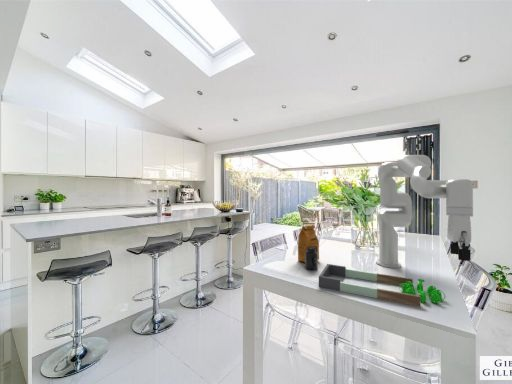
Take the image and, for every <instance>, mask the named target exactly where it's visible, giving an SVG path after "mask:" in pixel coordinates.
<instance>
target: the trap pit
mask: <svg viewBox="0 0 512 384" xmlns="http://www.w3.org/2000/svg"><path fill="white" fill-rule="evenodd" d="M345 269H347V267H346V266H343V265H337V264H330V263H327V264H326V265H325V266H324V269H323V270H322V271H321V272H320V274H319V276H318V287H320V288H324V289H329V290H334V291H338V292H341V291H340V282H344V281H345V279H346V276H345Z"/></svg>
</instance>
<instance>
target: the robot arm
mask: <svg viewBox="0 0 512 384" xmlns="http://www.w3.org/2000/svg"><path fill="white" fill-rule="evenodd" d="M431 167H432V160H431V158H430V157H429V156H428V155H425V154H405V155H402V156H400V157H399V158H398V159H397V161H388V162H384V163H382V164H381V165H379V167H378V171H377V176H378V180H379V187H380V188H379V189H380V190H379V192H380V193H379V194H380V196H379V197H380V198H379V199H380V200H379V201H380V202H379V203H380V206H381V207H382V208H384V209H398V210H382V211H380V212H379V213H378V214H377V216H376V218H377V219H376V220H377V224H378V235H379V236H378V240H379V241H378V244H379V245H378V246H379V247H378V249H379V250H378V257H379V259H377V260H376V262H375V263H376V264H377V265H378V266H381V267H385V268H391V269H393V268H394V269H398V268H399V269H400V268H401V267H402V264H401V262H399V235H398V232H397V230H396V229H395V228H407V227H409V226H410V225H411V223H412V219H413V216H412V215H413V213H412V212H413V211H412V209H413V204H412V202H413V201H412V197H411V195H409V193H407V192H401V191H398V184H397V182H396V181H395V179H394V178H410V179H409V184H410V187H411V189H412V190H413V191H414V192H415V193H416V194H417V195H419V196H420V197H422V198H425V199H445V201H446V202H445V206H446V207H445V209H446V210H445V213H446V214H445V215H446V216H448V217H447V229H446V230H447V232H446V233H447V234H446V237H447V239H448V240H450V241H449V242H450V245H449V249H450V252H449V254H451V255H457V256H458V257H457V258H458V260H459V261H465V262H470V261H471V259H472V258H471V243H472V225H471V223H472V222H471V217H474V195H473V194H474V190H473V189H474V188H473V185H474V183H473V181H472V180H471V179H467V178H465V179H463V178H460V179H459V178H458V179H456V178H455V179H448V180H446V179H445V180H443V179H442V180H441V179H438V180H437V179H436V180H433V179H429V180H428V178H429V177H430V176H431V173H432V169H431Z"/></svg>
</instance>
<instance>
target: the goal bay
mask: <svg viewBox="0 0 512 384" xmlns="http://www.w3.org/2000/svg"><path fill="white" fill-rule="evenodd" d="M345 277H348V278H354V279H361V280H366V281H373V282H377V272H370V271H364V270H358V269H351V268H346V269H345ZM339 292H343V293H349V294H354V295H360V296H365V297H370V298H373V299H374V298H375V299H378V298H377V287H372V286H367V285H361V284H356V283H355V284H354V283H351V282H350V283H349V282H344V281H343V282H340V291H339Z"/></svg>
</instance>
